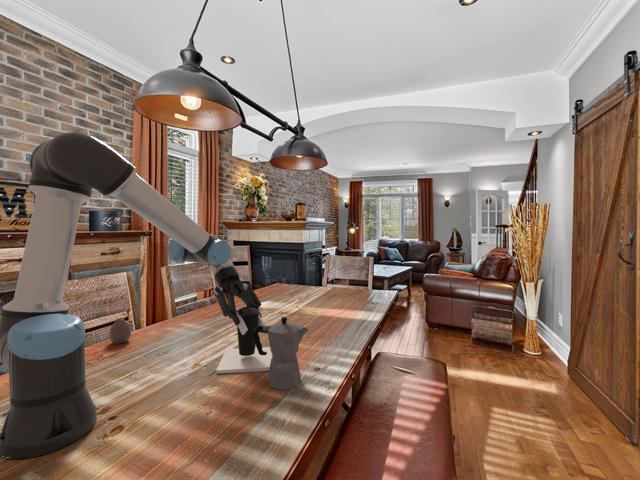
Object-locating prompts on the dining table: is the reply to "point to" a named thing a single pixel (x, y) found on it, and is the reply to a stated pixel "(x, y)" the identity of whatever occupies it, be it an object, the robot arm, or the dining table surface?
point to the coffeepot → (282, 353)
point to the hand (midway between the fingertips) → (253, 329)
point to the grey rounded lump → (120, 331)
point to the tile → (244, 361)
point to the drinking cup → (251, 323)
